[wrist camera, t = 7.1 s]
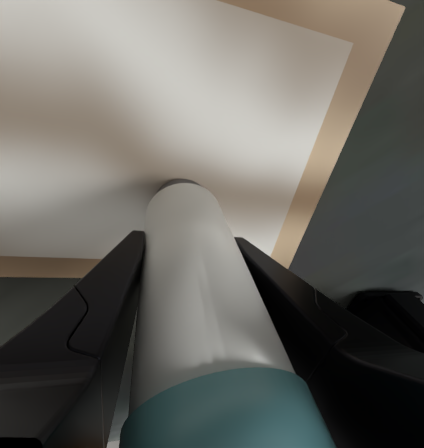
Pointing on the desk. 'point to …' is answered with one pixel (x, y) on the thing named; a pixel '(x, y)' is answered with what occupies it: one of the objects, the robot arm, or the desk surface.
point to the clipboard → (173, 116)
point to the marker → (208, 341)
